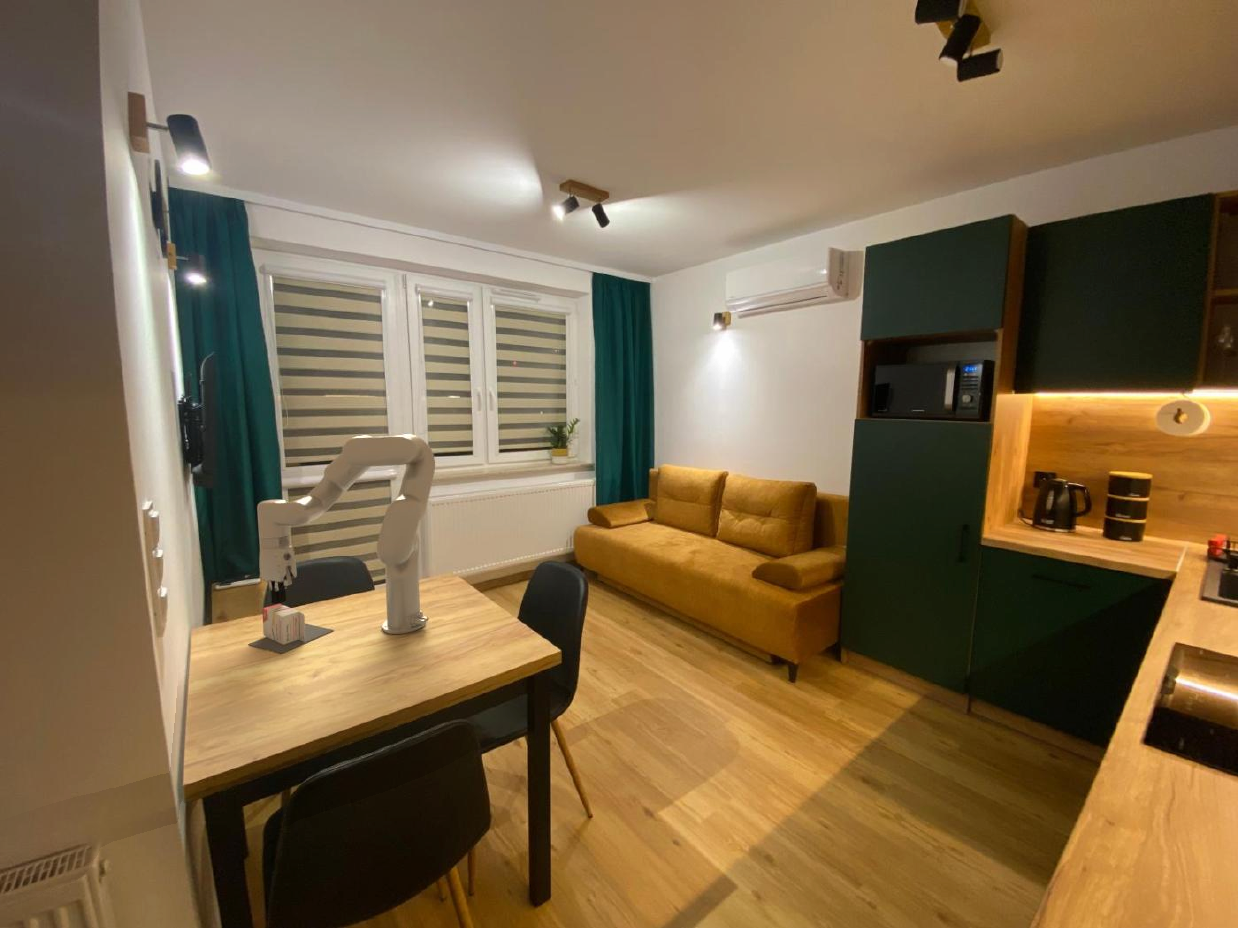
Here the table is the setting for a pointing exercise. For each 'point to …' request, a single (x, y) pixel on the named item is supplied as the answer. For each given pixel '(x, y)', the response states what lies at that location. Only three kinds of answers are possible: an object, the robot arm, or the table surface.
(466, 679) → the table surface
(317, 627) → the mat
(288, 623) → the ink cartridge box
